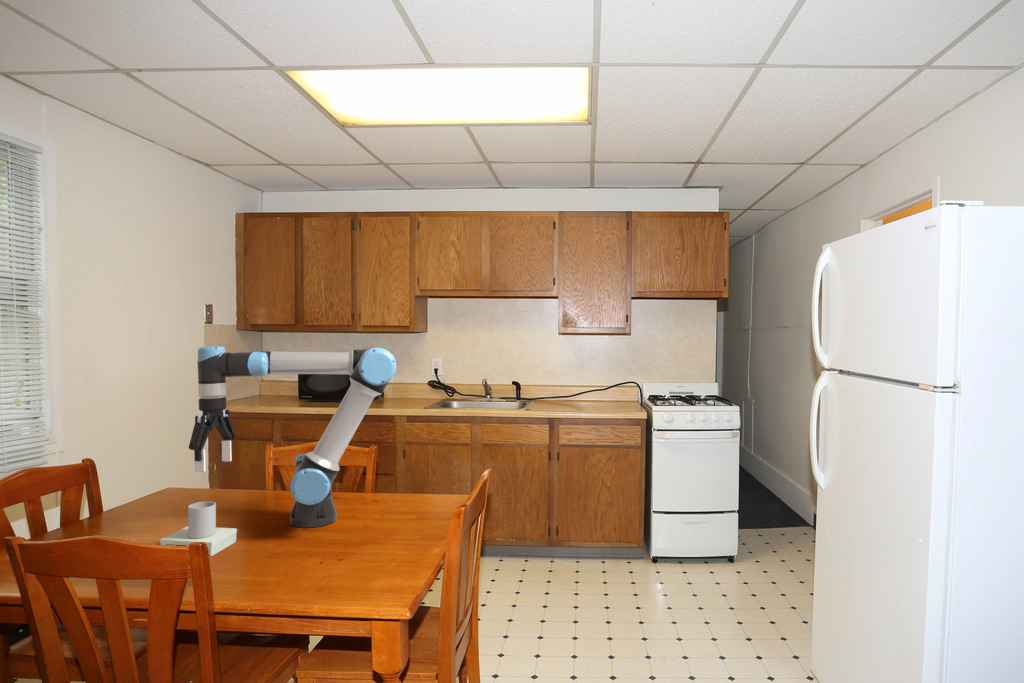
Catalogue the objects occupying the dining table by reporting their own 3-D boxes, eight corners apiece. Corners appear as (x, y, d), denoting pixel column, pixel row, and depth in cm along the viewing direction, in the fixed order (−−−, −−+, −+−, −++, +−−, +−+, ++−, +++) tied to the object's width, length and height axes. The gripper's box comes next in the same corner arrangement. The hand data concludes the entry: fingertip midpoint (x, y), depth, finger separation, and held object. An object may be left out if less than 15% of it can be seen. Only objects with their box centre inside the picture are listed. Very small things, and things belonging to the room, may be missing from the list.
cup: (193, 541, 163) (193, 510, 163) (181, 532, 170) (181, 503, 170) (219, 534, 168) (219, 504, 168) (206, 527, 175) (207, 498, 175)
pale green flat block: (236, 541, 174) (236, 528, 174) (211, 556, 162) (211, 542, 162) (188, 538, 176) (188, 526, 176) (160, 553, 164) (160, 539, 164)
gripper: (224, 392, 186) (225, 457, 186) (173, 402, 161) (175, 476, 161) (246, 392, 185) (247, 457, 186) (198, 401, 161) (200, 476, 161)
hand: (214, 466), depth 174 cm, fingers open, 13 cm apart
